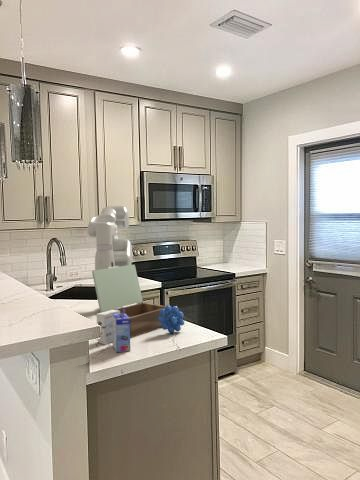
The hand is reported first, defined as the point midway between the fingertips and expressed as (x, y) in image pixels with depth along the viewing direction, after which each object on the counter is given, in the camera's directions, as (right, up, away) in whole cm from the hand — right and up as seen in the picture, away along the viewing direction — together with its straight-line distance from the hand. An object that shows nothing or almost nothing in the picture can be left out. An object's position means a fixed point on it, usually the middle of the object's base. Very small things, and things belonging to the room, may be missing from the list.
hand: (106, 286), depth 188 cm
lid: (+7, +1, -6) cm, 9 cm away
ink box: (+7, -18, -31) cm, 37 cm away
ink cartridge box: (+13, -19, -41) cm, 47 cm away
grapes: (+32, -17, -24) cm, 43 cm away
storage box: (+16, -17, -13) cm, 27 cm away
